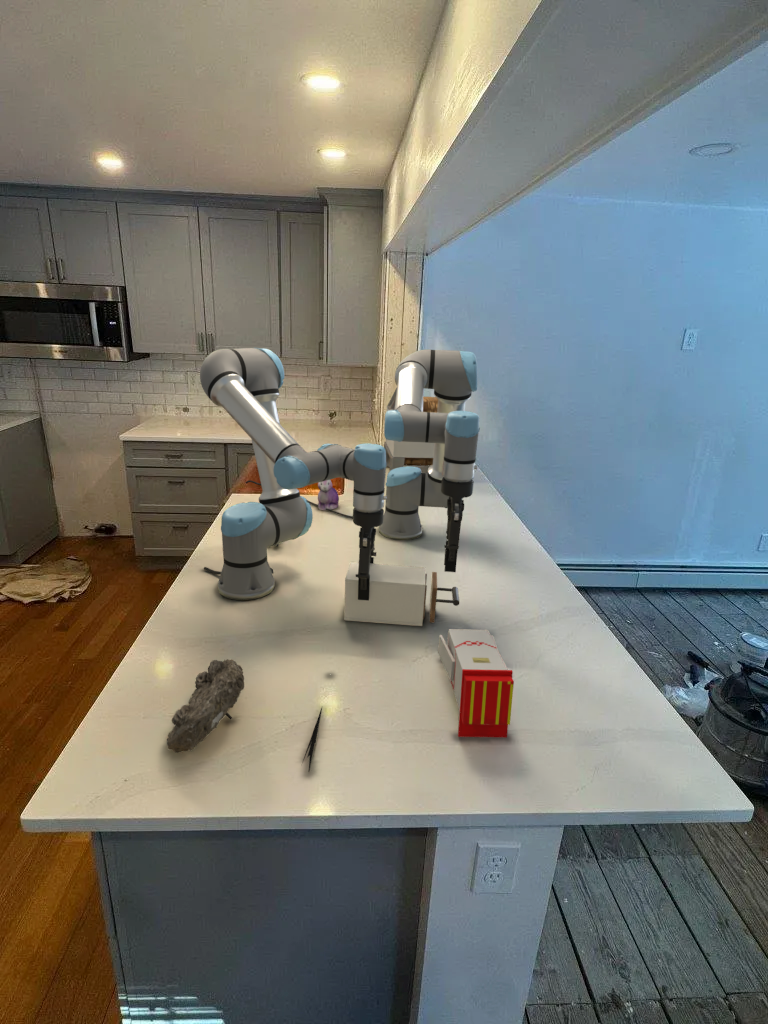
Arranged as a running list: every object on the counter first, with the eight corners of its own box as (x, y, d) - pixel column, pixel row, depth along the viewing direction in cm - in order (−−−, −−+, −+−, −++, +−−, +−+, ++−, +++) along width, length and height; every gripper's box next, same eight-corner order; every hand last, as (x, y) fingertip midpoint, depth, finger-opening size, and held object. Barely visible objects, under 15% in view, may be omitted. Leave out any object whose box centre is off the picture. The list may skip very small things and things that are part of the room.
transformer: (382, 463, 289) (386, 382, 275) (445, 464, 293) (451, 384, 279) (390, 482, 257) (394, 392, 243) (460, 483, 261) (468, 394, 247)
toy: (488, 613, 130) (523, 677, 101) (484, 667, 133) (517, 744, 104) (435, 612, 130) (455, 676, 101) (432, 666, 133) (451, 743, 103)
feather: (331, 679, 122) (336, 673, 122) (307, 777, 96) (313, 769, 95) (324, 675, 122) (329, 669, 121) (298, 772, 95) (304, 764, 95)
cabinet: (422, 606, 152) (425, 567, 148) (422, 626, 142) (425, 584, 138) (349, 600, 153) (350, 561, 149) (344, 620, 143) (345, 578, 139)
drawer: (455, 606, 151) (459, 573, 147) (457, 624, 142) (461, 589, 139) (364, 600, 152) (365, 567, 148) (360, 617, 143) (362, 582, 140)
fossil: (192, 660, 117) (244, 628, 112) (224, 691, 120) (276, 661, 115) (142, 746, 98) (202, 712, 93) (182, 779, 101) (242, 748, 96)
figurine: (321, 512, 217) (321, 474, 212) (311, 504, 225) (311, 467, 220) (344, 509, 221) (344, 472, 216) (333, 501, 229) (334, 465, 224)
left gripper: (380, 525, 127) (376, 612, 135) (386, 494, 149) (383, 571, 156) (347, 523, 128) (345, 610, 135) (358, 492, 149) (356, 569, 156)
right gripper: (476, 489, 126) (466, 583, 134) (471, 470, 141) (462, 555, 149) (442, 487, 127) (435, 581, 135) (441, 468, 142) (434, 554, 150)
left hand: (365, 589), depth 146 cm, fingers closed on cabinet, 10 cm apart
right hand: (449, 567), depth 142 cm, fingers open, 3 cm apart
